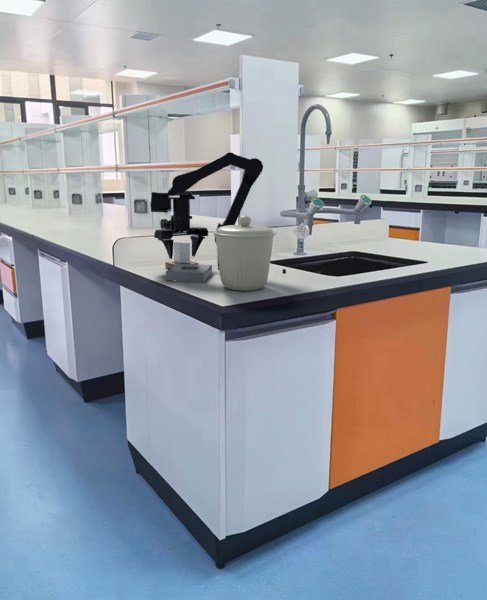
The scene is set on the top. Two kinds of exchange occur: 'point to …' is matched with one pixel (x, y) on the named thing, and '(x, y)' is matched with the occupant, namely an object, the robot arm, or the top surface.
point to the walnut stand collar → (171, 264)
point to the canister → (244, 254)
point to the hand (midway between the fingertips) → (182, 257)
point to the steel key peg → (182, 253)
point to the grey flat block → (189, 272)
